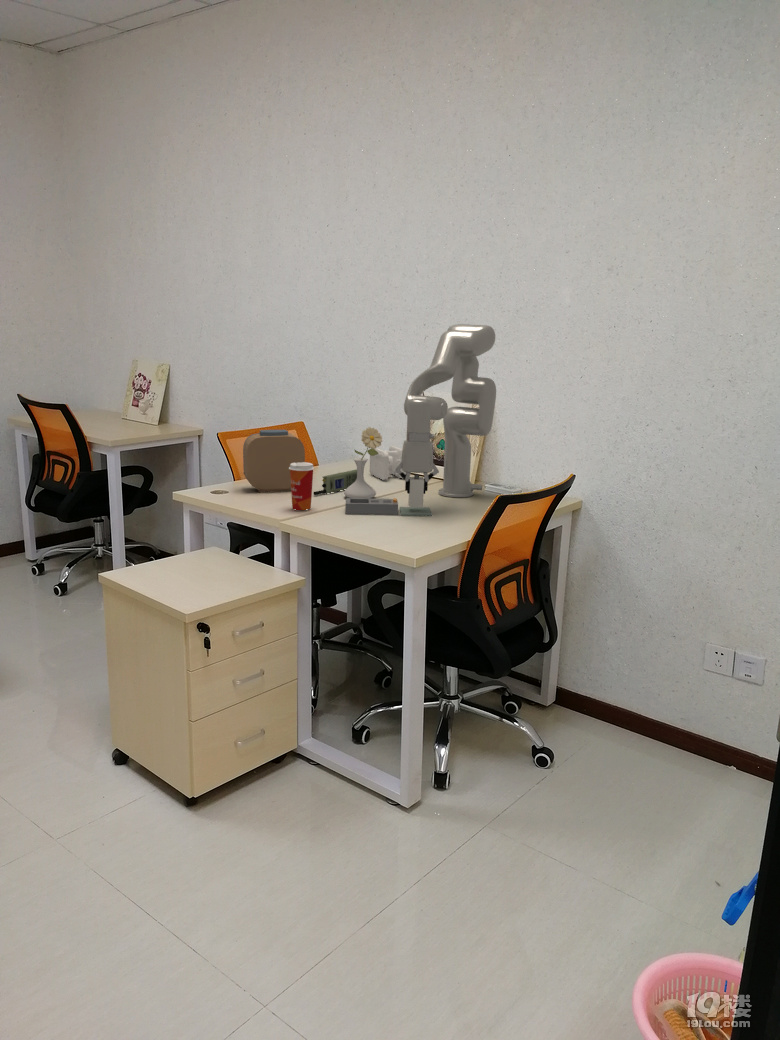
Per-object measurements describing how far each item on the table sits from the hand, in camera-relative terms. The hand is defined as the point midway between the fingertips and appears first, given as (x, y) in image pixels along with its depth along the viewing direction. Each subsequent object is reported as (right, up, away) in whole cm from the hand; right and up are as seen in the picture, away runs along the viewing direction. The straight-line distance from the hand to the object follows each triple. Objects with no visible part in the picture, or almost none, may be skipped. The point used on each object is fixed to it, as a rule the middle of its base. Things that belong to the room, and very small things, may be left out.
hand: (416, 492), depth 271 cm
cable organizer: (-10, +7, +57) cm, 58 cm away
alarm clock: (-51, +2, +30) cm, 59 cm away
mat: (0, -7, +2) cm, 7 cm away
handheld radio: (-28, +1, +31) cm, 41 cm away
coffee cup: (-38, -6, +2) cm, 38 cm away
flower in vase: (-18, -2, +20) cm, 27 cm away
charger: (0, -4, +1) cm, 4 cm away
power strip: (-15, -6, +1) cm, 16 cm away
